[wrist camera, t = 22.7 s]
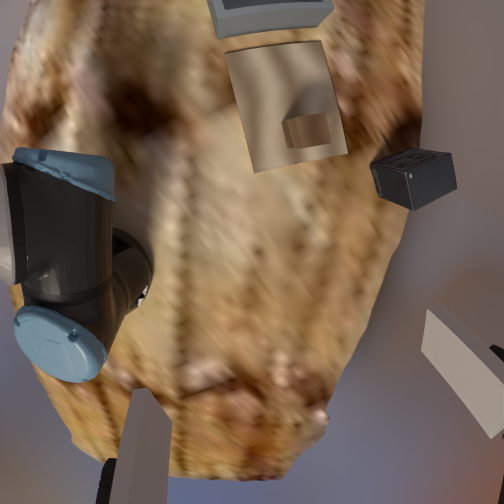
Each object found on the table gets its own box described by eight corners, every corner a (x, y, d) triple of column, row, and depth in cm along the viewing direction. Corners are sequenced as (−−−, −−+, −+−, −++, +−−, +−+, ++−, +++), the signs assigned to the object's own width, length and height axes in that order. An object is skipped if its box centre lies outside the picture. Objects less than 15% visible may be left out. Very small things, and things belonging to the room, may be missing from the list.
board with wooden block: (253, 172, 43) (262, 178, 34) (224, 56, 36) (225, 35, 27) (344, 153, 43) (372, 156, 34) (317, 43, 36) (339, 24, 27)
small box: (378, 199, 46) (413, 214, 36) (367, 164, 43) (403, 171, 34) (421, 180, 45) (459, 190, 35) (413, 146, 43) (451, 151, 33)
